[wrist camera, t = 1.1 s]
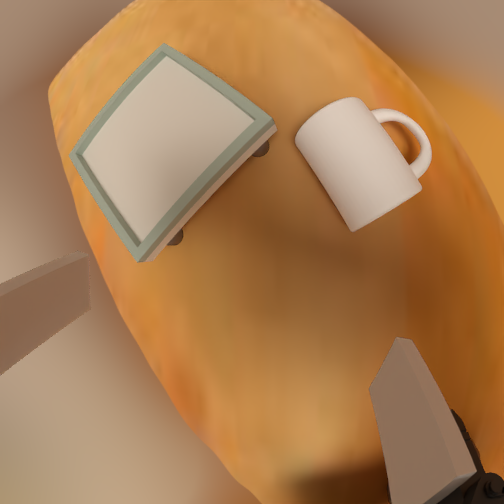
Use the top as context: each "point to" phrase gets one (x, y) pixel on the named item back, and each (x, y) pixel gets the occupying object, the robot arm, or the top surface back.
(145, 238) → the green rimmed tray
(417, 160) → the mug
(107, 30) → the top surface
